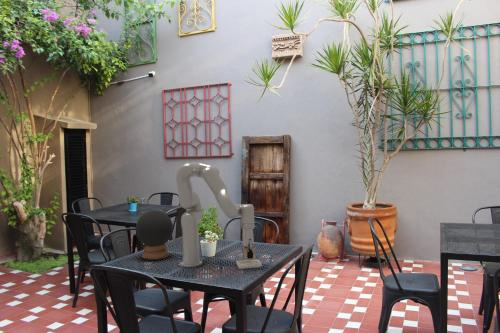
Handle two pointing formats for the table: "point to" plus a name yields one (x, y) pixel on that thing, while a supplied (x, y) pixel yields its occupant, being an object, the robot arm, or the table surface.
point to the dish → (248, 264)
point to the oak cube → (247, 251)
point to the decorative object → (154, 234)
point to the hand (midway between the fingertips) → (249, 256)
